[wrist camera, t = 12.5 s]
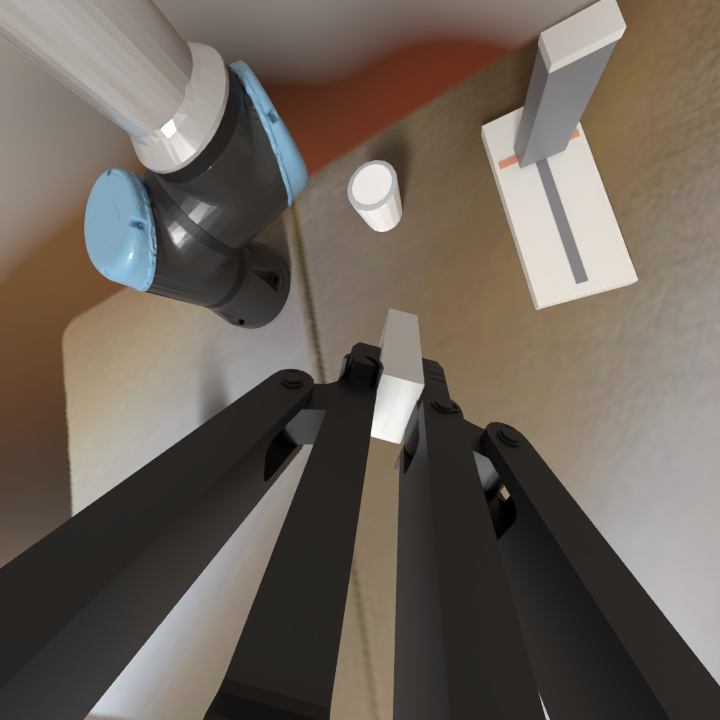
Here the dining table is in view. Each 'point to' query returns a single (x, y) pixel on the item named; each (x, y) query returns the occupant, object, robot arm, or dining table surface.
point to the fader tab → (565, 79)
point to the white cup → (376, 195)
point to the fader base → (558, 217)
